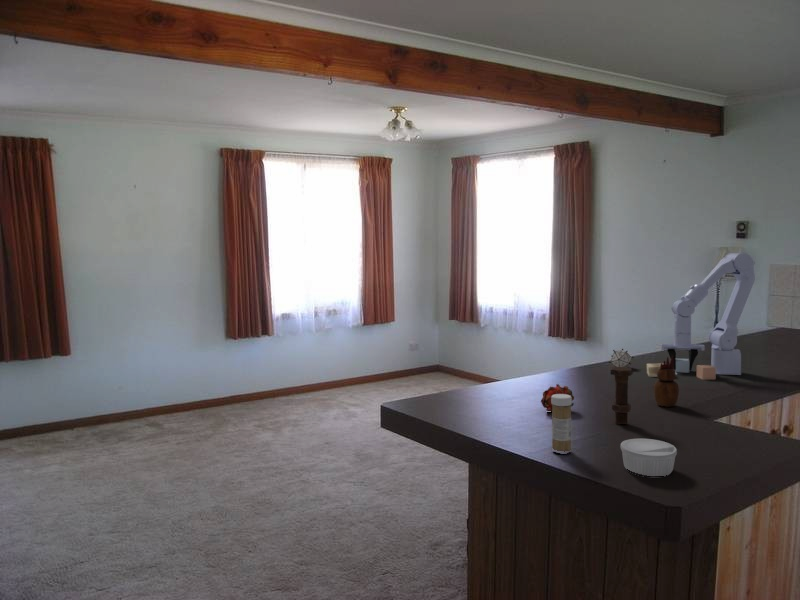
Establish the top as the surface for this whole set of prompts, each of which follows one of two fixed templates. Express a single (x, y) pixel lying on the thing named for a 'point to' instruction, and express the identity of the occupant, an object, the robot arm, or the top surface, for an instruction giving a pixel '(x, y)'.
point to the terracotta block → (706, 372)
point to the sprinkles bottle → (561, 422)
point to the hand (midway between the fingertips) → (682, 369)
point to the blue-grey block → (682, 365)
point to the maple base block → (653, 369)
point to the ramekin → (648, 456)
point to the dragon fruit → (552, 391)
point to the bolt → (621, 394)
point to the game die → (621, 359)
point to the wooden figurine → (666, 385)
